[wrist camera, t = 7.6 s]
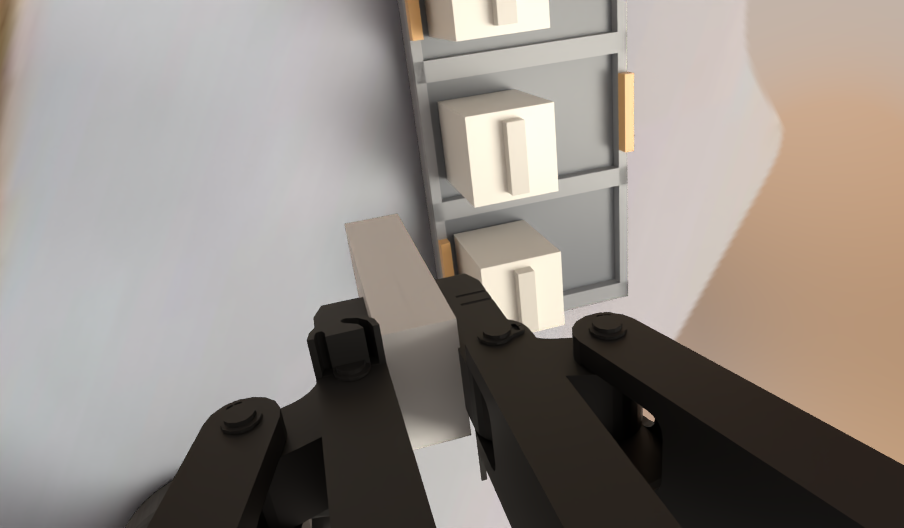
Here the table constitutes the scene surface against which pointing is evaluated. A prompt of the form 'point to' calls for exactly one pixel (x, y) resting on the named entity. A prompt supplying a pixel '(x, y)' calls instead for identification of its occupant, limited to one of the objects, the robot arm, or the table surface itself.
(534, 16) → the tab
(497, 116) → the cream ridged block
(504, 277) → the tab
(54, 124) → the table surface
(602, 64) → the frame
